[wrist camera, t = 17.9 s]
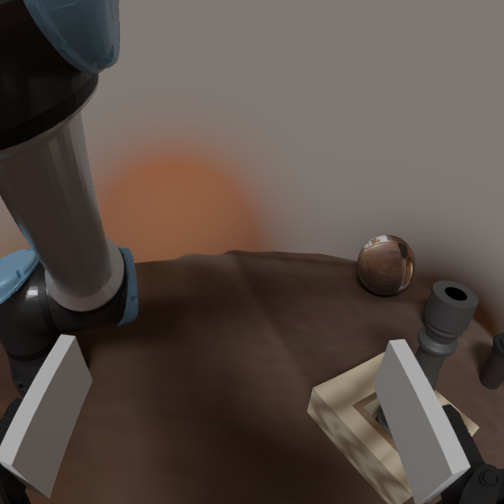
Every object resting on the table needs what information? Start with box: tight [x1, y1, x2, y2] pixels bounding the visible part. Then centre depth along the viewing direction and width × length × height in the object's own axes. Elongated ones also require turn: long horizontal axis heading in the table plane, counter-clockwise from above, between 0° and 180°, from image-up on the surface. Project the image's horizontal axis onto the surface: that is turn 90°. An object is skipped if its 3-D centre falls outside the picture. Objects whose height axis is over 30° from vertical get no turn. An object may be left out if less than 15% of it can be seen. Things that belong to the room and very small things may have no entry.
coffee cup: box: [480, 333, 504, 389], centre depth 44 cm, size 8×8×10 cm
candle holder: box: [375, 281, 478, 436], centre depth 34 cm, size 6×6×25 cm
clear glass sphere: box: [357, 235, 415, 296], centre depth 74 cm, size 15×15×15 cm
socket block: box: [307, 352, 479, 504], centre depth 38 cm, size 22×16×6 cm
